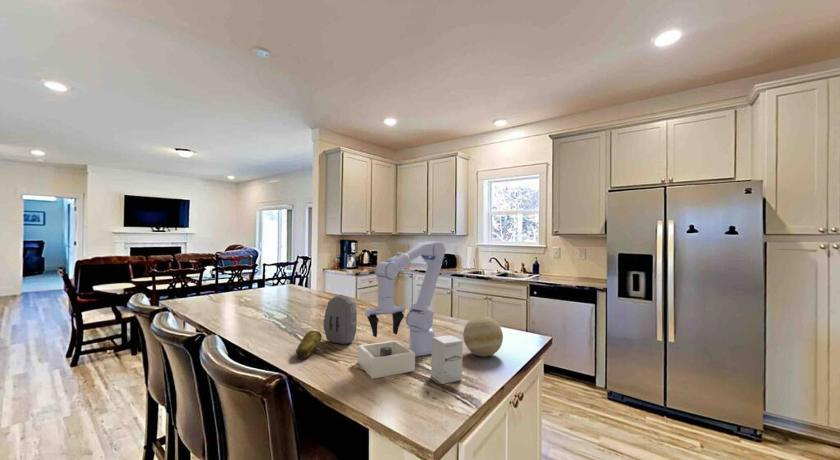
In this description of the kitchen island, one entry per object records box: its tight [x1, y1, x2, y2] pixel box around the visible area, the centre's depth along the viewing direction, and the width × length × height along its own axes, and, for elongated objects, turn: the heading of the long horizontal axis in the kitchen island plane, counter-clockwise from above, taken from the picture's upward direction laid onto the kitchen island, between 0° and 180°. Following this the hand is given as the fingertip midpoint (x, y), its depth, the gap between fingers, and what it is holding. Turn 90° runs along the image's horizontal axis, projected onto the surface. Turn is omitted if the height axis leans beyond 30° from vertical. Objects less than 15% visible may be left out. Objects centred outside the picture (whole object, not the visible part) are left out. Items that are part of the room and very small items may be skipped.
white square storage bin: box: [357, 340, 416, 379], centre depth 117 cm, size 15×15×6 cm
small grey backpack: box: [323, 294, 358, 345], centre depth 142 cm, size 15×8×20 cm, turn 66°
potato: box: [295, 330, 322, 360], centre depth 127 cm, size 8×13×8 cm, turn 154°
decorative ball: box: [462, 315, 504, 358], centre depth 130 cm, size 15×15×15 cm
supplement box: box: [430, 334, 464, 385], centre depth 109 cm, size 7×7×13 cm
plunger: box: [375, 347, 394, 358], centre depth 117 cm, size 11×11×5 cm
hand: (385, 334), depth 119 cm, fingers open, 7 cm apart
